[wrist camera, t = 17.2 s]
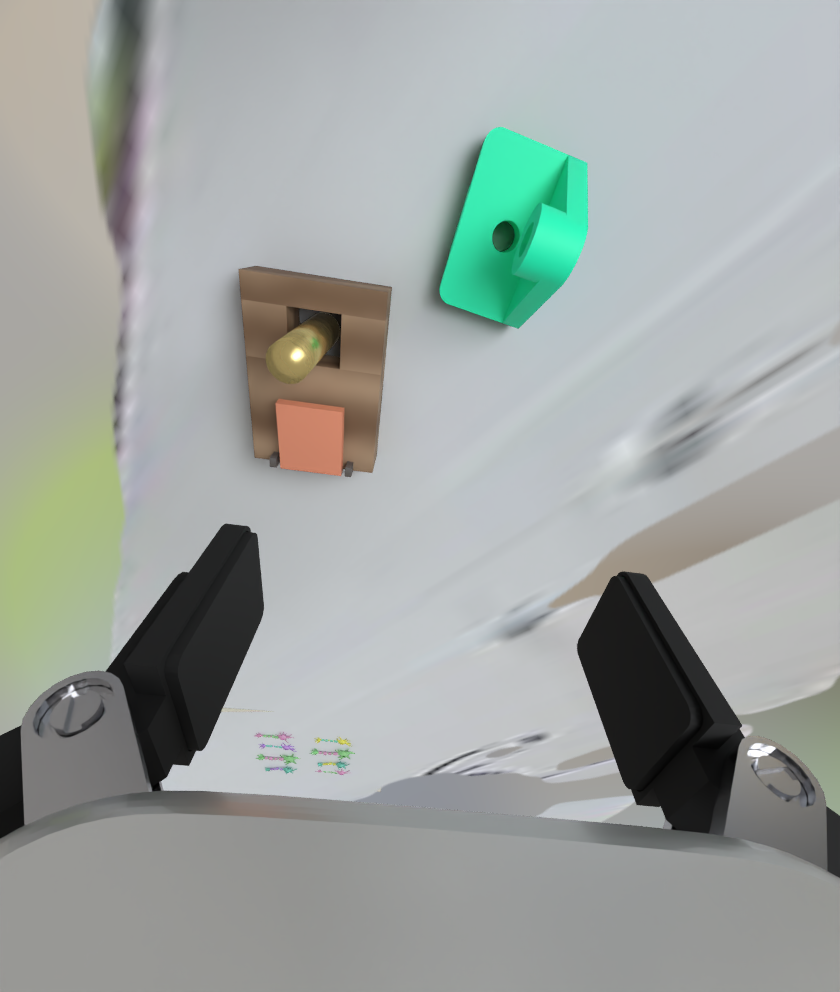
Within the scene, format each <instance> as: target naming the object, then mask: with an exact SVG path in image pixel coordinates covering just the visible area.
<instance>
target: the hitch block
mask: <svg viewBox="0 0 840 992" xmlns="http://www.w3.org/2000/svg"><path fill="white" fill-rule="evenodd" d="M239 280H240V292H241V303H242V315H243V327H244V338H245V350H246V361H247V373H248V385H249V396H250V408H251V420H252V431H253V443H254V455H255V458H262V459H269V460H270V467H277V466H278V464H279V463H280V454H279V441H278V429H277V417H276V404H275V403H276V402H277V400H278V399H285V400H292V401H299V402H307V403H314V404H321V405H328V406H336V407H343V408H344V444H343V469H345V476H346V477H351V475H352V472H353V470H354V471H362V472H369V473H372V472H373V468H374V464H375V460H376V456H377V445H378V434H379V423H380V412H381V401H382V390H383V379H384V368H385V357H386V346H387V335H388V324H389V313H390V302H391V291H392V287H388V286H382V285H375V284H369V283H362V282H356V281H350V280H343V279H337V278H330V277H324V276H317V275H311V274H305V273H298V272H292V271H285V270H279V269H272V268H266V267H260V266H254V267H248V268H243V269H239ZM299 308H303V309H309V310H316V311H323V312H329V313H336V314H342V319H341V348H340V357H337V356H331V355H324V356H323V357H322V359H321V360H320V361H319V362H318V363H317V364H316V366H315V367H314V368H313V369H312V370H311V371H310V372H309V374H308V375H307V376H306V377H305V378H304V379H303V380H302V381H300V382H299V383H295V384H286V383H283V382H281V381H279V380H277V379H276V378H275V377H274V376H273V375H272V374H271V373H270V371H269V370H268V367H267V365H266V353H267V350H268V348H269V347H270V346H271V345H272V344H273V343H275V342H276V341H277V340H279V339H280V338H282V337H283V336H285V335H286V334H287V333H289V332H290V331H292V330H293V329H295V328H296V327H298V326H299V325H300V321H299Z"/></svg>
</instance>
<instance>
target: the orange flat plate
mask: <svg viewBox="0 0 840 992" xmlns="http://www.w3.org/2000/svg"><path fill="white" fill-rule="evenodd" d="M275 404H276V417H277V429H278V441H279V454H280V466H281V468H283V469H291V470H298V471H306V472H314V473H322V474H329V475H337V476H341V474H342V471H343V444H344V408H343V407H336V406H328V405H321V404H314V403H307V402H299V401H292V400H285V399H278V400H277V402H276V403H275Z"/></svg>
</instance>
